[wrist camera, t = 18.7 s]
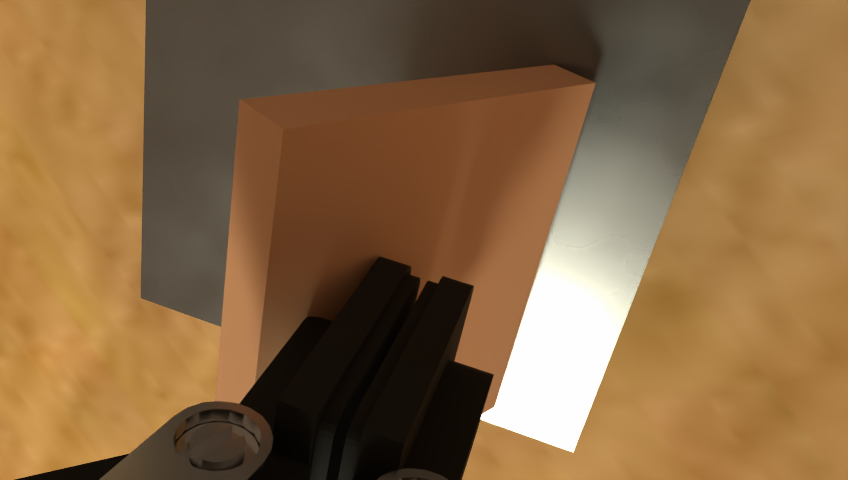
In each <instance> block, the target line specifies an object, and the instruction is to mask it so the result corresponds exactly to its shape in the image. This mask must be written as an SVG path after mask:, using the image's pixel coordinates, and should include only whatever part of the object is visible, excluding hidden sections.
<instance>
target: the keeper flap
mask: <svg viewBox="0 0 848 480" xmlns="http://www.w3.org/2000/svg"><path fill="white" fill-rule="evenodd" d="M595 84H596V83H595V82H593V81H591V80H588V79H586V78H584V77H581V76H579V75H577V74H575V73H572V72H570V71H568V70H565V69H563V68H561V67H558V66H556V65H545V66H536V67H527V68H518V69H509V70H500V71H491V72H482V73H474V74H465V75H456V76H447V77H438V78H429V79H420V80H411V81H402V82H393V83H384V84H375V85H366V86H357V87H348V88H339V89H330V90H321V91H312V92H303V93H294V94H285V95H276V96H267V97H258V98H249V99H240V100H239V112H238V125H237V137H236V150H235V162H234V174H233V187H232V199H231V212H230V224H229V236H228V249H227V261H226V274H225V286H224V299H223V311H222V323H221V336H220V348H219V361H218V373H217V385H216V398H215V401H224V402H233V403H238V404H239V403H240V402H241V401H242V400H243V398H244V397H245V396H246V394H247V393H248V392H249V390H250V389H251V388H252V387H253V385H254V384H255V383H256V381H257V380H258V379H259V377H260V376H261V375H262V374H263V372H264V371H265V370H266V368H267V367H268V366H269V365H270V363H271V362H272V361H273V359H274V358H275V357H276V355H277V354H278V353H279V352H280V350H281V349H282V348H283V346H284V345H285V344H286V343H287V341H288V340H289V339H290V337H291V336H292V335H293V333H294V332H295V331H296V330H297V328H298V327H299V326H300V324H301V323H302V322H303V321H304V319H305V318H306V317H310V316H312V317H321V318H324V319H327V320H330V321H334V319H335V318H336V317H337V315H338V314H339V312H340V311H341V309H342V308H343V307H344V305H345V304H346V302H347V301H348V300H349V298H350V297H351V295H352V294H353V292H354V291H355V290H356V288H357V287H358V285H359V284H360V283H361V281H362V280H363V278H364V277H365V275H366V274H367V273H368V271H369V270H370V268H371V267H372V266H373V264H374V263H375V261H376V260H377V259H378V258H379V257H384V258H387V259H390V260H393V261H396V262H399V263H403V264H406V265H409V266H411V275H412V276H415V277H419V278H420V286H419V290H418V295H417V299H418V297H419V295H420V293H421V291H422V290H423V288H424V286H425V284H426V282H427V281H432V282H435V283H439V281H440V279H441V278H442V276H444V277H448V278H451V279H454V280H457V281H460V282H464V283H467V284H470V285H473V286H474V289H473V293H472V297H471V301H470V305H469V309H468V312H467V316H466V320H465V324H464V327H463V331H462V335H461V339H460V342H459V346H458V350H457V353H456V357H455V362H458V363H461V364H464V365H467V366H470V367H473V368H476V369H479V370H482V371H485V372H488V373H491V374H494V376H493V380H492V383H491V386H490V390H489V393H488V396H487V399H486V403H485V406H484V409H483V413H485V412H486V411H488V410H490V409H492V408H493V407H495V404H496V401H497V398H498V394H499V391H500V388H501V385H502V382H503V378H504V375H505V372H506V369H507V366H508V362H509V359H510V356H511V353H512V350H513V346H514V343H515V340H516V337H517V334H518V330H519V327H520V324H521V321H522V318H523V314H524V311H525V308H526V305H527V301H528V298H529V295H530V292H531V289H532V285H533V282H534V279H535V276H536V273H537V269H538V266H539V263H540V260H541V257H542V253H543V250H544V247H545V244H546V241H547V237H548V234H549V231H550V228H551V225H552V221H553V218H554V215H555V212H556V209H557V205H558V202H559V199H560V196H561V193H562V189H563V186H564V183H565V180H566V177H567V173H568V170H569V167H570V164H571V161H572V157H573V154H574V151H575V148H576V145H577V141H578V138H579V135H580V132H581V129H582V125H583V122H584V119H585V116H586V113H587V109H588V106H589V103H590V100H591V97H592V93H593V90H594V87H595ZM417 299H416V301H417ZM483 413H482V414H483Z"/></svg>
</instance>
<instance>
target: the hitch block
mask: <svg viewBox="0 0 848 480" xmlns="http://www.w3.org/2000/svg"><path fill="white" fill-rule="evenodd" d="M749 3H750V0H146V37H145V93H144V149H143V205H142V262H141V298H142V299H145V300H148V301H151V302H153V303H156V304H159V305H162V306H165V307H167V308H170V309H173V310H176V311H179V312H181V313H184V314H187V315H190V316H193V317H195V318H198V319H201V320H204V321H207V322H209V323H212V324H215V325H218V326H221V323H222V311H223V299H224V286H225V274H226V261H227V249H228V236H229V224H230V212H231V199H232V187H233V174H234V162H235V150H236V137H237V125H238V112H239V100H240V99H249V98H258V97H267V96H276V95H285V94H294V93H303V92H312V91H321V90H330V89H339V88H348V87H357V86H366V85H375V84H384V83H393V82H402V81H411V80H420V79H429V78H438V77H447V76H456V75H465V74H474V73H482V72H491V71H500V70H509V69H518V68H527V67H536V66H545V65H556V66H558V67H561V68H563V69H565V70H568V71H570V72H572V73H575V74H577V75H579V76H581V77H584V78H586V79H588V80H591V81H593V82H595V83H596V84H595V87H594V90H593V93H592V97H591V100H590V103H589V106H588V109H587V113H586V116H585V119H584V122H583V125H582V129H581V132H580V135H579V138H578V141H577V145H576V148H575V151H574V154H573V157H572V161H571V164H570V167H569V170H568V173H567V177H566V180H565V183H564V186H563V189H562V193H561V196H560V199H559V202H558V205H557V209H556V212H555V215H554V218H553V221H552V225H551V228H550V231H549V234H548V237H547V241H546V244H545V247H544V250H543V253H542V257H541V260H540V263H539V266H538V269H537V273H536V276H535V279H534V282H533V285H532V289H531V292H530V295H529V298H528V301H527V305H526V308H525V311H524V314H523V318H522V321H521V324H520V327H519V330H518V334H517V337H516V340H515V343H514V346H513V350H512V353H511V356H510V359H509V362H508V366H507V369H506V372H505V375H504V378H503V382H502V385H501V388H500V391H499V394H498V398H497V401H496V404H495V407H493V408H492V409H490V410H488V411H486V412H485V413H483V414H482V416H481V420H484V421H486V422H489V423H492V424H495V425H498V426H500V427H503V428H506V429H509V430H512V431H514V432H517V433H520V434H523V435H526V436H528V437H531V438H534V439H537V440H540V441H542V442H545V443H548V444H551V445H554V446H556V447H559V448H562V449H565V450H568V451H570V452H574V449H575V446H576V444H577V441H578V439H579V436H580V434H581V431H582V429H583V426H584V423H585V421H586V418H587V416H588V413H589V411H590V408H591V406H592V403H593V401H594V398H595V395H596V393H597V390H598V388H599V385H600V383H601V380H602V378H603V375H604V372H605V370H606V367H607V365H608V362H609V360H610V357H611V355H612V352H613V350H614V347H615V344H616V342H617V339H618V337H619V334H620V332H621V329H622V327H623V324H624V321H625V319H626V316H627V314H628V311H629V309H630V306H631V304H632V301H633V299H634V296H635V293H636V291H637V288H638V286H639V283H640V281H641V278H642V276H643V273H644V270H645V268H646V265H647V263H648V260H649V258H650V255H651V253H652V250H653V248H654V245H655V242H656V240H657V237H658V235H659V232H660V230H661V227H662V225H663V222H664V219H665V217H666V214H667V212H668V209H669V207H670V204H671V202H672V199H673V197H674V194H675V191H676V189H677V186H678V184H679V181H680V179H681V176H682V174H683V171H684V168H685V166H686V163H687V161H688V158H689V156H690V153H691V151H692V148H693V146H694V143H695V140H696V138H697V135H698V133H699V130H700V128H701V125H702V123H703V120H704V117H705V115H706V112H707V110H708V107H709V105H710V102H711V100H712V97H713V95H714V92H715V89H716V87H717V84H718V82H719V79H720V77H721V74H722V72H723V69H724V66H725V64H726V61H727V59H728V56H729V54H730V51H731V49H732V46H733V44H734V41H735V38H736V36H737V33H738V31H739V28H740V26H741V23H742V21H743V18H744V15H745V13H746V10H747V8H748V5H749Z"/></svg>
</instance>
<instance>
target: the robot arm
mask: <svg viewBox="0 0 848 480" xmlns="http://www.w3.org/2000/svg"><path fill="white" fill-rule="evenodd" d="M419 286H420V278H419V277H415V276H412V275H411V266H409V265H406V264H403V263H399V262H396V261H393V260H390V259H387V258H384V257H379V258H378V259H377V260H376V261H375V263H374V264H373V266H372V267H371V268H370V270H369V271H368V273H367V274H366V275H365V277H364V278H363V280H362V281H361V283H360V284H359V285H358V287H357V288H356V290H355V291H354V292H353V294H352V295H351V297H350V298H349V300H348V301H347V302H346V304H345V305H344V307H343V308H342V309H341V311H340V312H339V314H338V315H337V317H336V318H335V319H334V321H330V320H327V319H324V318H321V317H312V316H310V317H306V318H305V319H304V321H303V322H302V323H301V324H300V326H299V327H298V328H297V330H296V331H295V332H294V333H293V335H292V336H291V337H290V339H289V340H288V341H287V343H286V344H285V345H284V346H283V348H282V349H281V350H280V352H279V353H278V354H277V355H276V357H275V358H274V359H273V361H272V362H271V363H270V365H269V366H268V367H267V368H266V370H265V371H264V372H263V374H262V375H261V376H260V377H259V379H258V380H257V381H256V383H255V384H254V385H253V387H252V388H251V389H250V390H249V392H248V393H247V394H246V396H245V397H244V398H243V400H242V401H241V402H240V403H239V404H238V403H233V402H224V401H215V402H205V403H200V404H197V405H194V406H191V407H188V408H186V409H184V410H183V411H181V412H180V413H178V414H177V415H175V416H174V417H172V418H171V419H170V420H169V421H168V422H167V423H165V424H164V425H163V426H162V427H161V428H159V429H158V430H157V431H156V432H155V433H154V434H152V435H151V436H150V437H149V438H148V439H146V440H145V441H144V442H143V443H142V444H141V445H139V446H138V447H137V448H136V449H135V450H133V451H132V452H131V453H130V454H126V455H122V456H117V457H113V458H108V459H104V460H100V461H95V462H91V463H86V464H82V465H77V466H73V467H69V468H64V469H60V470H55V471H51V472H46V473H42V474H38V475H33V476H29V477H24V478H20V479H16V480H462V477H463V474H464V470H465V467H466V464H467V461H468V458H469V455H470V451H471V448H472V445H473V442H474V439H475V435H476V432H477V429H478V426H479V422H480V419H481V416H482V413H483V409H484V406H485V403H486V399H487V396H488V393H489V390H490V386H491V383H492V380H493V376H494V374H491V373H488V372H485V371H482V370H479V369H476V368H473V367H470V366H467V365H464V364H461V363H458V362H455V357H456V353H457V350H458V346H459V342H460V339H461V335H462V331H463V327H464V324H465V320H466V316H467V312H468V309H469V305H470V301H471V297H472V293H473V289H474V286H473V285H470V284H467V283H464V282H460V281H457V280H454V279H451V278H448V277H444V276H442V278H441V279H440V281H439V283H435V282H432V281H427V282H426V284H425V286H424V288H423V290H422V291H421V293H420V295H419V297H418V299H417V295H418V290H419ZM416 299H417V301H416Z"/></svg>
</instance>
